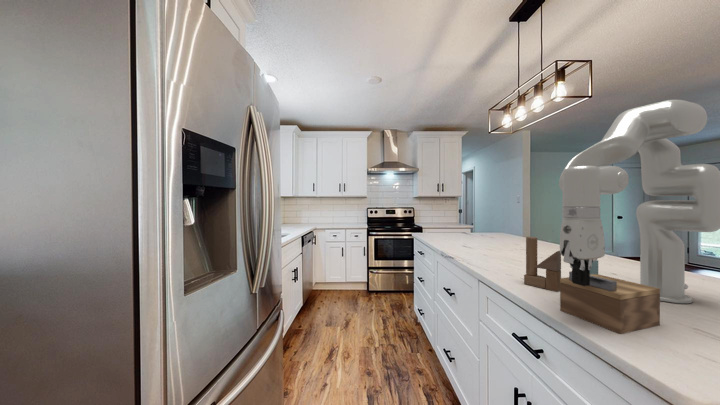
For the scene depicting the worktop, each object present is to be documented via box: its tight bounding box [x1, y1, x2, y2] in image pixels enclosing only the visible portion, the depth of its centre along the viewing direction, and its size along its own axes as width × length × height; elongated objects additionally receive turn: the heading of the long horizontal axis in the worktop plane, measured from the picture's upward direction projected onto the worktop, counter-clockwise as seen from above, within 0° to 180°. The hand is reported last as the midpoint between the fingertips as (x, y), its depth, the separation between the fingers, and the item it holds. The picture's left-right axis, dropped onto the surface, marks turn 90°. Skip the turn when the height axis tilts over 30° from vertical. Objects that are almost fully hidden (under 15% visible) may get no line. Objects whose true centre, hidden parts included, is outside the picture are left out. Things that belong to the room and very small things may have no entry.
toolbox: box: [559, 283, 661, 335], centre depth 71 cm, size 15×14×8 cm
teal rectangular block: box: [590, 259, 599, 275], centre depth 87 cm, size 4×4×12 cm
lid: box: [560, 270, 660, 300], centre depth 71 cm, size 15×14×4 cm
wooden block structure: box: [523, 236, 562, 293], centre depth 96 cm, size 4×11×18 cm, turn 35°
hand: (580, 284), depth 68 cm, fingers closed
